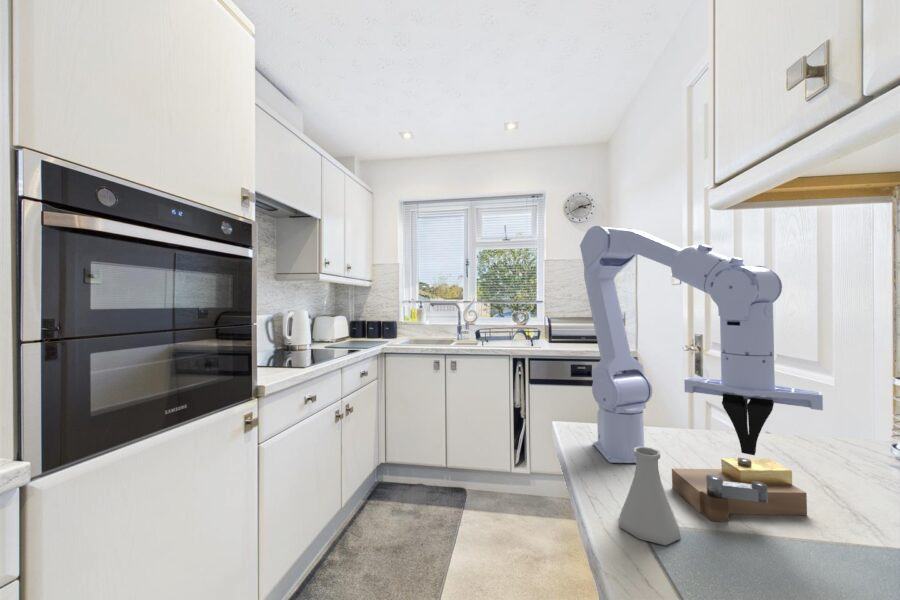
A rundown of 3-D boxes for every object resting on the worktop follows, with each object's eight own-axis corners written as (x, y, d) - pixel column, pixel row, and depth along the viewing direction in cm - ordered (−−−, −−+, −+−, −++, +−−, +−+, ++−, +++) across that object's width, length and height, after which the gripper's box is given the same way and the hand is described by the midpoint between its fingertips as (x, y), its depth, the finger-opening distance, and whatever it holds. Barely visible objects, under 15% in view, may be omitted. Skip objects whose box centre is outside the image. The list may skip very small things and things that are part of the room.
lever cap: (721, 471, 56) (721, 454, 56) (769, 471, 56) (768, 454, 56) (740, 484, 52) (740, 465, 52) (792, 484, 52) (791, 466, 52)
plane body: (672, 487, 57) (671, 468, 57) (765, 489, 57) (765, 469, 57) (708, 520, 49) (707, 498, 49) (819, 522, 48) (818, 499, 48)
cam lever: (763, 496, 49) (762, 480, 49) (770, 504, 47) (770, 486, 47) (704, 490, 51) (704, 474, 51) (709, 496, 49) (709, 480, 49)
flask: (609, 528, 48) (607, 451, 48) (629, 506, 53) (627, 436, 53) (672, 555, 42) (670, 468, 43) (688, 527, 47) (686, 450, 48)
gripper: (678, 352, 53) (680, 446, 52) (822, 362, 43) (825, 479, 42) (689, 347, 58) (691, 433, 58) (820, 355, 48) (822, 459, 48)
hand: (748, 452), depth 50 cm, fingers closed
